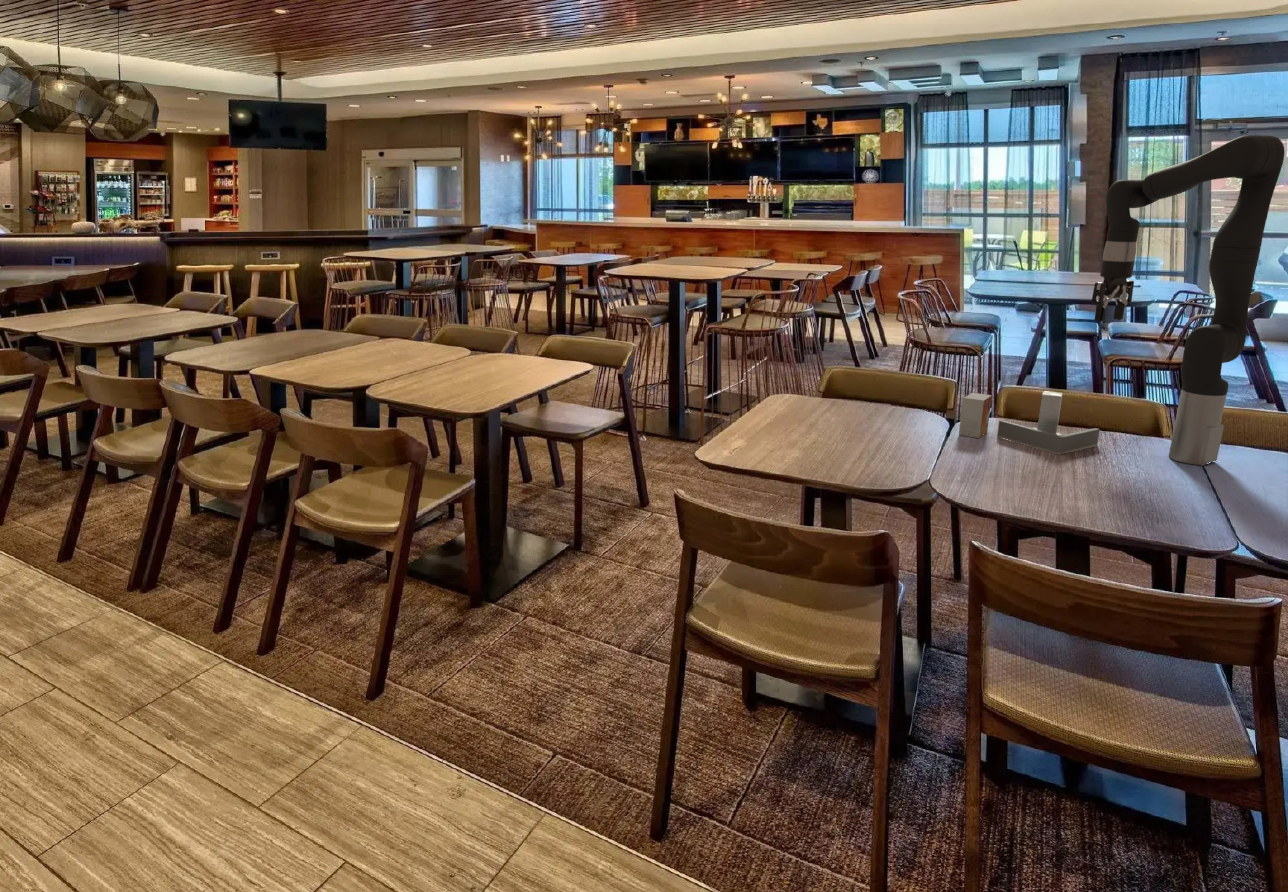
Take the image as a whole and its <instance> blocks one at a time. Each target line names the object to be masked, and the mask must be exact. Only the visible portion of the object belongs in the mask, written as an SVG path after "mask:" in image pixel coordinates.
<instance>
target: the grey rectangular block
mask: <svg viewBox="0 0 1288 892" xmlns="http://www.w3.org/2000/svg"><path fill="white" fill-rule="evenodd" d="M1063 393H1064V392H1058V391H1057V392H1056V391H1047V390H1043V392H1042V395H1041V403H1040V407H1039V415H1038V421H1037V427H1036V428H1037V430H1041V431H1045V432H1048V433H1052V434H1056V435H1060V434H1061V432H1058V425H1059V421H1060V420H1059V419H1060V412H1061V407H1062V400H1063Z"/></svg>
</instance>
